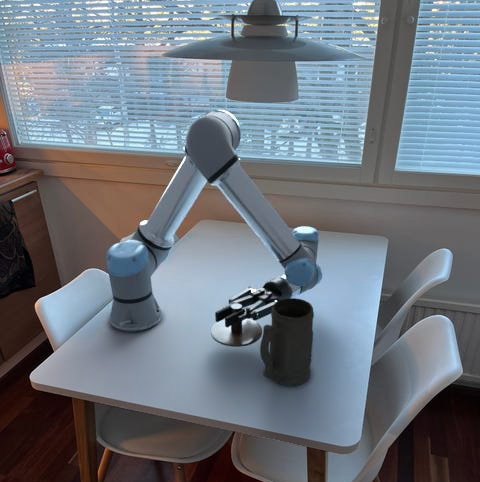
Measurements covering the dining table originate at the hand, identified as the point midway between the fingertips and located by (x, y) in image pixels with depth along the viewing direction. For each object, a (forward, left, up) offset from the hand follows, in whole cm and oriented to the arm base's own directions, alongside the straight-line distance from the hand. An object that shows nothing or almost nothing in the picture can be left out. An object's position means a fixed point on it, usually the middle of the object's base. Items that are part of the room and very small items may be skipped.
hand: (221, 319), depth 122 cm
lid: (0, +5, -6) cm, 8 cm away
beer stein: (+18, +4, -12) cm, 22 cm away
